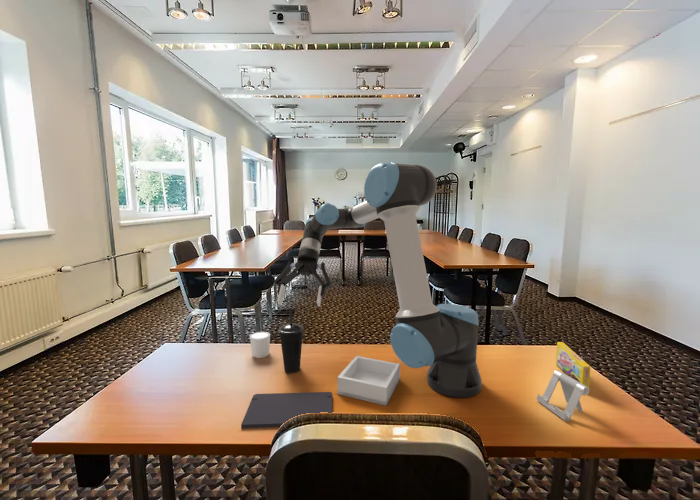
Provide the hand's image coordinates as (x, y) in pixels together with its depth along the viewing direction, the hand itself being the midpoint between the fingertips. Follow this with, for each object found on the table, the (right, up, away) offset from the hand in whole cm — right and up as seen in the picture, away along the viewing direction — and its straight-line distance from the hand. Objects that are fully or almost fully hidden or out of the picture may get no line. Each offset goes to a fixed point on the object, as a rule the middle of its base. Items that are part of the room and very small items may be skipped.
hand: (298, 303), depth 113 cm
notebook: (+2, -23, -28) cm, 36 cm away
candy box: (+84, -21, -12) cm, 87 cm away
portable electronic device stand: (+72, -23, -27) cm, 80 cm away
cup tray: (+23, -21, -17) cm, 35 cm away
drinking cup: (-1, -20, -7) cm, 21 cm away
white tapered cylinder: (-14, -18, +4) cm, 23 cm away
